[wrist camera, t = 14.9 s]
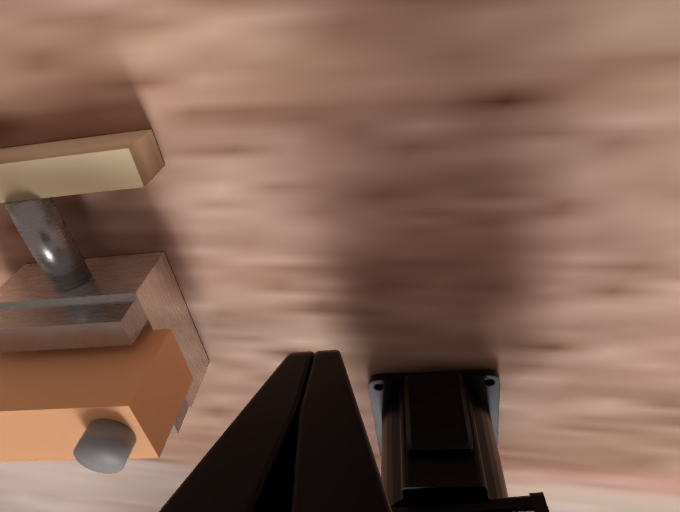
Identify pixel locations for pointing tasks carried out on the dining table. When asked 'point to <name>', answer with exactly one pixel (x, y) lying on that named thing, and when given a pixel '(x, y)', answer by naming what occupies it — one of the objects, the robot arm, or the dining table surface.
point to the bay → (79, 166)
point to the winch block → (90, 296)
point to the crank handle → (92, 402)
